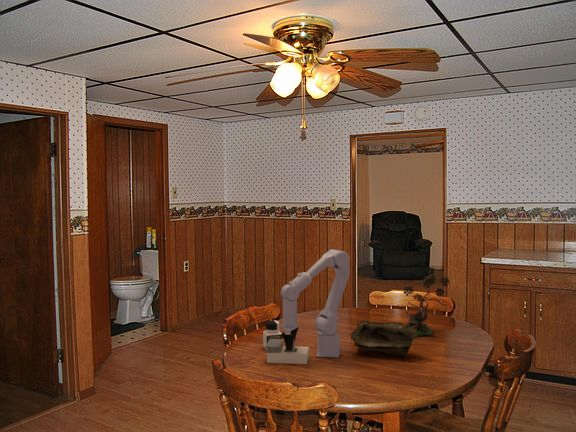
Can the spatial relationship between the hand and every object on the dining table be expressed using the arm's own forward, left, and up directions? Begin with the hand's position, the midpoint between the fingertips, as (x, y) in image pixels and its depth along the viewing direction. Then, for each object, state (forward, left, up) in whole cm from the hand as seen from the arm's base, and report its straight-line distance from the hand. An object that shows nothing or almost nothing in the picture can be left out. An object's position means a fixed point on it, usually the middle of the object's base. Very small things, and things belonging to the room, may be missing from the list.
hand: (290, 347), depth 207 cm
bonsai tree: (-59, -50, -5) cm, 78 cm away
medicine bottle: (+10, -15, -5) cm, 19 cm away
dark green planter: (-38, -11, -5) cm, 40 cm away
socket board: (+1, 0, -5) cm, 5 cm away
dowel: (0, 0, -5) cm, 5 cm away
